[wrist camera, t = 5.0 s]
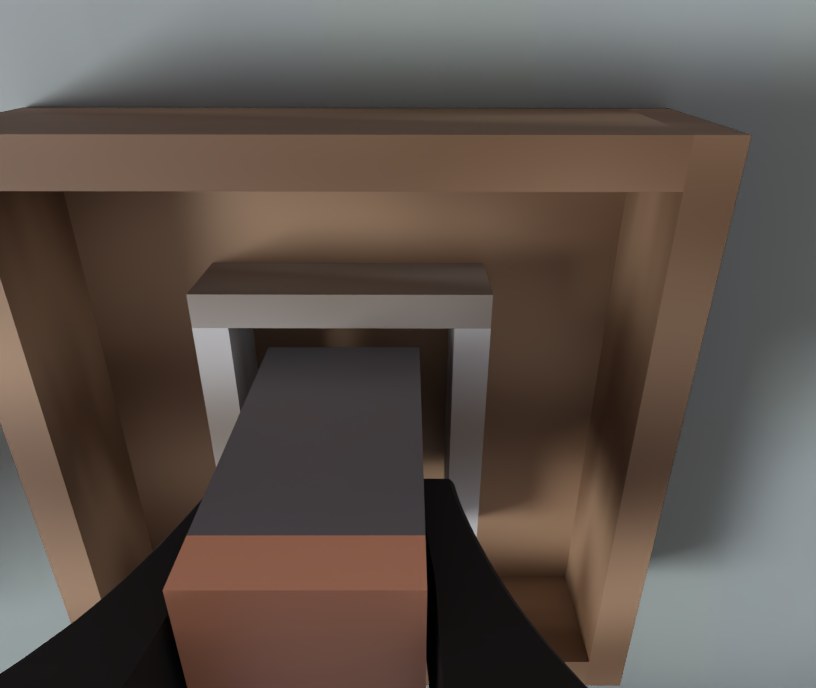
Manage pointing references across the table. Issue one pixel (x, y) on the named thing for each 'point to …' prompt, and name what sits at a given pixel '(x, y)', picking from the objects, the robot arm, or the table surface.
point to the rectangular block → (311, 531)
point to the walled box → (366, 318)
